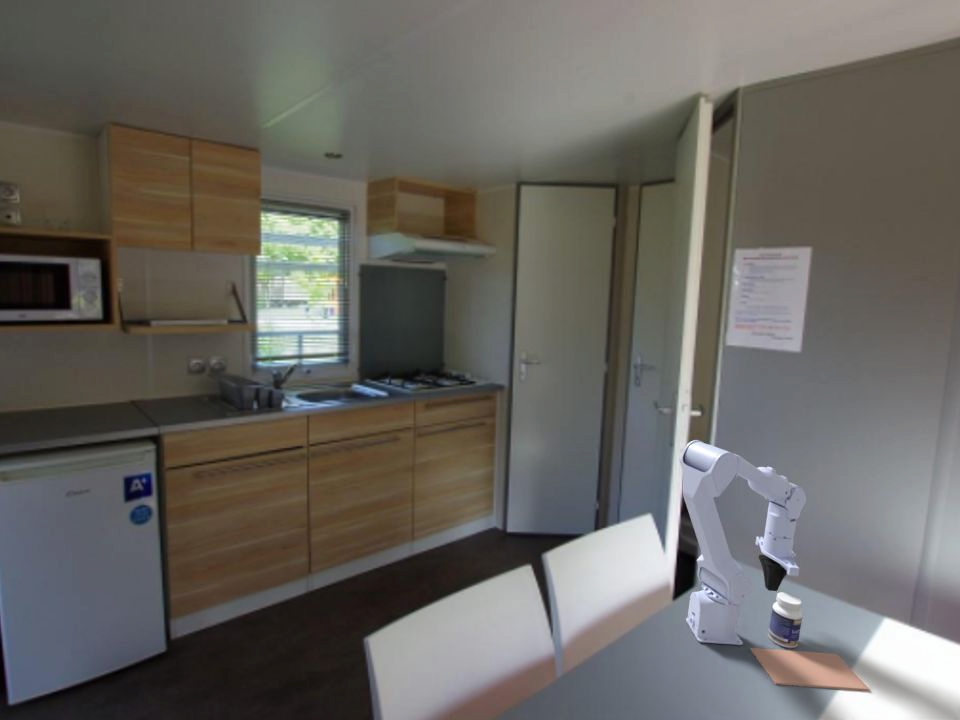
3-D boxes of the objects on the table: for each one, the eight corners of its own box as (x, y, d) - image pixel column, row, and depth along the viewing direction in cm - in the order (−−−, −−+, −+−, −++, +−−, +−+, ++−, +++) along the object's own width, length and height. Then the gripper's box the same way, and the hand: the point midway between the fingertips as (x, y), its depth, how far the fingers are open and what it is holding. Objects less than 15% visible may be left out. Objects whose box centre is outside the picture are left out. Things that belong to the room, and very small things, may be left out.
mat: (775, 684, 103) (775, 682, 103) (750, 649, 112) (750, 647, 112) (869, 691, 102) (869, 689, 102) (836, 655, 112) (836, 653, 112)
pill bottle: (796, 653, 112) (802, 609, 111) (765, 641, 116) (772, 598, 115) (799, 639, 117) (806, 597, 116) (770, 628, 120) (776, 587, 119)
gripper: (816, 549, 113) (807, 609, 115) (779, 520, 128) (772, 573, 129) (783, 547, 113) (774, 606, 115) (750, 518, 128) (742, 571, 129)
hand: (771, 589), depth 122 cm, fingers closed
